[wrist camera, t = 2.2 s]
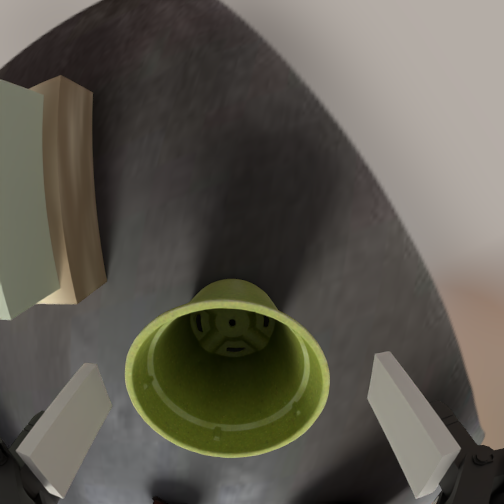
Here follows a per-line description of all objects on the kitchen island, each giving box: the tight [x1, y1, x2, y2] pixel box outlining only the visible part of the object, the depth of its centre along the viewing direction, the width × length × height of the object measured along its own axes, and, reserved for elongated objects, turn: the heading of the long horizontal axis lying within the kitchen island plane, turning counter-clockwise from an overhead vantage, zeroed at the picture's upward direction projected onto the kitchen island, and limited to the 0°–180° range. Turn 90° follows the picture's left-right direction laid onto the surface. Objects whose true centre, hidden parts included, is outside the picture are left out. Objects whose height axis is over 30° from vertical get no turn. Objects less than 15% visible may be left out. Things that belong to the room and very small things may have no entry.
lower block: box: [29, 75, 107, 304], centre depth 16 cm, size 14×14×5 cm
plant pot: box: [125, 279, 330, 458], centre depth 16 cm, size 9×9×9 cm
